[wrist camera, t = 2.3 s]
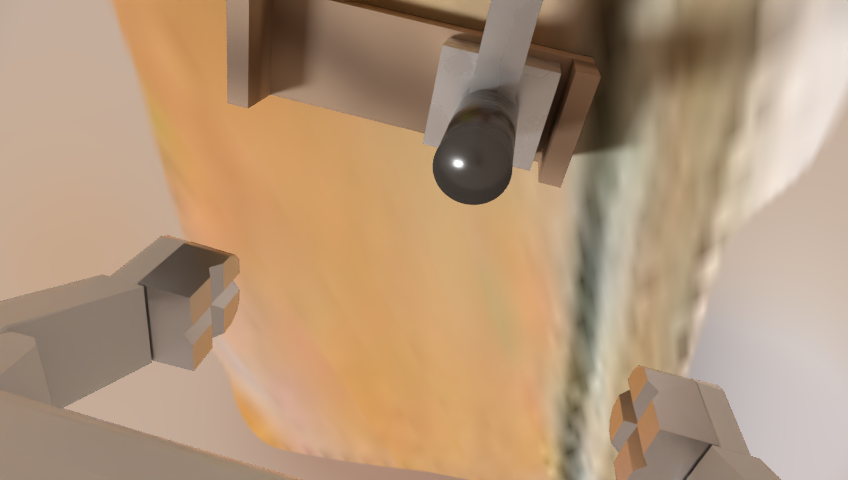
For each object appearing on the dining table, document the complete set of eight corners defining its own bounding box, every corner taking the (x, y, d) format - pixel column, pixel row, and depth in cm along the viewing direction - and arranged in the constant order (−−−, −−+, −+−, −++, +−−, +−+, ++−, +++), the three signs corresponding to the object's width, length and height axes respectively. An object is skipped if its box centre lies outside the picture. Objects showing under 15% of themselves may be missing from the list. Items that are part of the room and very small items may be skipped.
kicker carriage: (500, -210, 19) (476, -295, 12) (637, -182, 19) (700, -251, 11) (430, 128, 26) (388, 207, 19) (530, 153, 26) (527, 243, 18)
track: (264, -21, 25) (226, -13, 22) (593, 57, 24) (601, 77, 21) (261, 83, 28) (227, 103, 25) (557, 157, 27) (560, 187, 24)
